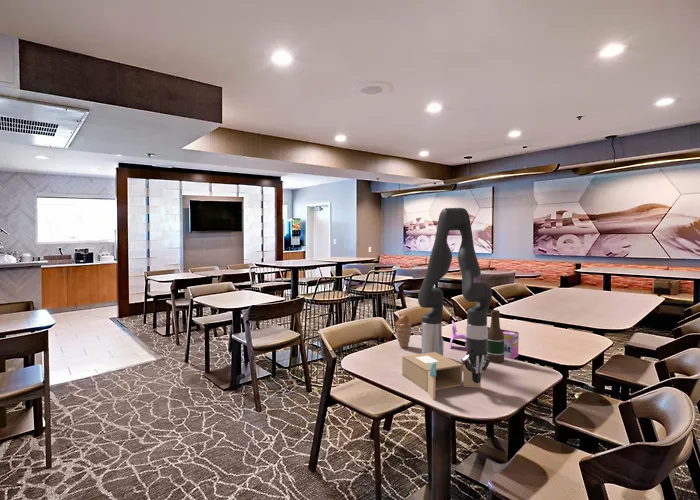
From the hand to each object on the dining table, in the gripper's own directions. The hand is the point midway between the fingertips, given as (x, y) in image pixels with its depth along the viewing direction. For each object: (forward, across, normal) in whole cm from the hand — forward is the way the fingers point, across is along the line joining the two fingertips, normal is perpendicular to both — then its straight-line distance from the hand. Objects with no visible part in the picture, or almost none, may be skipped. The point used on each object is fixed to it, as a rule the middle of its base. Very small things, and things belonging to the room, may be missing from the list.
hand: (476, 382), depth 138 cm
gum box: (+3, +37, +32) cm, 49 cm away
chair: (+3, +26, +45) cm, 52 cm away
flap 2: (+3, -2, +5) cm, 6 cm away
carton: (+3, -10, +15) cm, 18 cm away
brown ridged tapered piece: (+3, +2, +57) cm, 57 cm away
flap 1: (+3, -18, +5) cm, 19 cm away
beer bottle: (+3, +30, +23) cm, 38 cm away
